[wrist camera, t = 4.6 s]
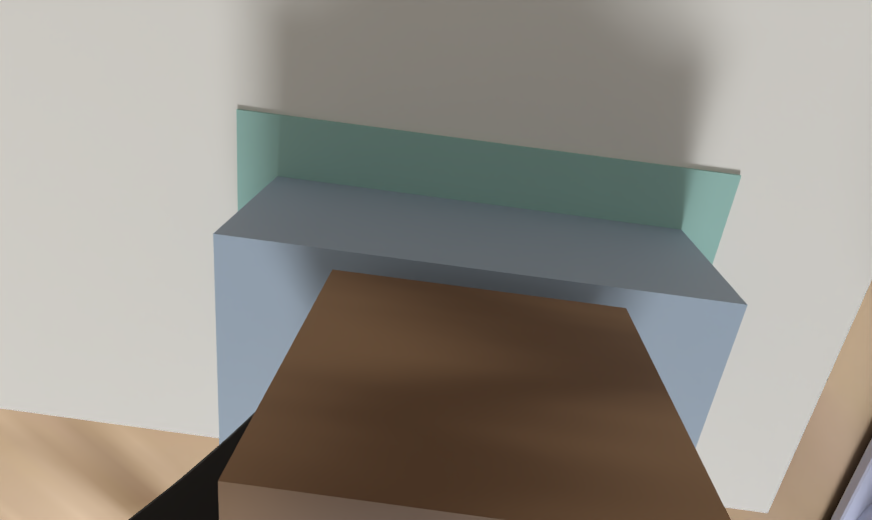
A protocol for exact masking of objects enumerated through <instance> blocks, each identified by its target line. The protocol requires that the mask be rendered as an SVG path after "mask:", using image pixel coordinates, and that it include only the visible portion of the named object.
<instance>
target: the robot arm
mask: <svg viewBox="0 0 872 520" xmlns="http://www.w3.org/2000/svg"><path fill="white" fill-rule="evenodd" d="M254 413H255V412H254ZM254 413H253V414H252V415H251V416H250V417H249V418H248V419H247V420H246V421H245V422H244V423H243V424H242V425H241V426H240V427H238V428H237V429H236V430H235V431H234V432H233V433H232V434H231V435H230V436H229V437H228V438H227V439H225V440H224V441H223V442H222V443H221V444H220V445H219V446H218V447H217V448H215V449H214V450H213V451H212V452H211V453H210V454H209V455H207V456H206V457H205V458H204V459H203V460H202V461H200V462H199V463H198V464H197V465H196V466H195V467H193V468H192V469H191V470H190V471H189V472H188V473H187V474H185V475H184V476H183V477H182V478H181V479H179V480H178V481H177V482H176V483H175V484H173V485H172V486H171V487H170V488H168V489H167V490H166V491H165V492H163V493H162V494H161V495H159V496H158V497H157V498H156V499H154V500H153V501H152V502H151V503H149V504H148V505H147V506H145V507H144V508H143V509H142V510H140V511H139V512H138V513H136V514H135V515H134V516H133V517H131V518H130V519H129V520H219V503H218V480H219V478H220V476H221V474H222V472H223V471H224V469H225V467H226V465H227V463H228V461H229V459H230V458H231V456H232V454H233V452H234V450H235V448H236V447H237V445H238V443H239V441H240V439H241V437H242V435H243V434H244V432H245V430H246V428H247V426H248V424H249V423H250V421H251V419H252V417H253V415H254ZM831 520H872V439H871V441H870V443H869V445H868V447H867V449H866V451H865V453H864V455H863V457H862V459H861V461H860V463H859V465H858V466H857V468H856V470H855V472H854V474H853V476H852V478H851V480H850V482H849V484H848V486H847V488H846V490H845V492H844V494H843V496H842V498H841V500H840V502H839V504H838V506H837V508H836V510H835V512H834V514H833V516H832V518H831Z"/></svg>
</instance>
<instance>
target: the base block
mask: <svg viewBox="0 0 872 520" xmlns="http://www.w3.org/2000/svg"><path fill="white" fill-rule="evenodd" d="M213 246H214V279H215V313H216V346H217V380H218V413H219V445H220V444H221V443H222V442H223V441H224V440H225V439H227V438H228V437H229V436H230V435H231V434H232V433H233V432H234V431H235V430H236V429H237V428H238V427H240V426H241V425H242V424H243V423H244V422H245V421H246V420H247V419H248V418H249V417H250V416H251V415H252V414H253V413H254V412H255V411H256V410H257V408H258V406H259V404H260V402H261V400H262V399H263V397H264V395H265V393H266V391H267V389H268V387H269V386H270V384H271V382H272V380H273V378H274V376H275V375H276V373H277V371H278V369H279V367H280V365H281V363H282V362H283V360H284V358H285V356H286V354H287V352H288V351H289V349H290V347H291V345H292V343H293V341H294V339H295V338H296V336H297V334H298V332H299V330H300V328H301V327H302V325H303V323H304V321H305V319H306V317H307V315H308V314H309V312H310V310H311V308H312V306H313V304H314V302H315V301H316V299H317V297H318V295H319V293H320V291H321V290H322V288H323V286H324V284H325V282H326V280H327V278H328V277H329V275H330V273H331V271H332V269H333V270H341V271H348V272H356V273H364V274H371V275H379V276H386V277H394V278H402V279H409V280H417V281H424V282H432V283H440V284H447V285H455V286H462V287H470V288H478V289H485V290H493V291H500V292H508V293H516V294H523V295H531V296H538V297H546V298H554V299H561V300H569V301H576V302H584V303H592V304H599V305H607V306H614V307H622V308H626V309H627V311H628V313H629V315H630V317H631V319H632V321H633V323H634V325H635V327H636V329H637V331H638V333H639V335H640V337H641V339H642V341H643V343H644V345H645V347H646V349H647V351H648V353H649V355H650V358H651V360H652V362H653V364H654V366H655V368H656V370H657V372H658V374H659V376H660V378H661V380H662V382H663V384H664V386H665V388H666V390H667V392H668V394H669V396H670V398H671V400H672V402H673V404H674V406H675V408H676V410H677V412H678V414H679V416H680V418H681V420H682V422H683V424H684V426H685V428H686V430H687V432H688V434H689V436H690V438H691V441H692V443H693V445H694V447H695V448H696V446H697V443H698V440H699V437H700V435H701V432H702V429H703V426H704V424H705V421H706V418H707V415H708V413H709V410H710V407H711V404H712V402H713V399H714V396H715V393H716V391H717V388H718V385H719V382H720V379H721V377H722V374H723V371H724V368H725V366H726V363H727V360H728V357H729V355H730V352H731V349H732V346H733V344H734V341H735V338H736V335H737V333H738V330H739V327H740V324H741V322H742V319H743V316H744V313H745V311H746V308H747V304H746V303H745V301H744V300H743V299H742V298H741V297H740V296H739V295H738V293H737V292H736V291H735V290H734V289H733V288H732V287H731V285H730V284H729V283H728V282H727V281H726V280H725V279H724V278H723V276H722V275H721V274H720V273H719V272H718V271H717V270H716V268H715V267H714V266H713V265H712V264H711V263H710V262H709V260H708V259H707V258H706V257H705V256H704V255H703V254H702V252H701V251H700V250H699V249H698V248H697V247H696V246H695V245H694V243H693V242H692V241H691V240H690V239H689V238H688V237H687V235H686V234H685V233H684V232H683V231H682V230H681V229H673V228H666V227H658V226H650V225H643V224H635V223H628V222H620V221H613V220H605V219H597V218H590V217H582V216H575V215H567V214H560V213H552V212H544V211H537V210H529V209H522V208H514V207H507V206H499V205H491V204H484V203H476V202H469V201H461V200H454V199H446V198H438V197H431V196H423V195H416V194H408V193H401V192H393V191H386V190H378V189H370V188H363V187H355V186H348V185H340V184H333V183H325V182H317V181H310V180H302V179H295V178H287V177H280V176H277V177H276V178H275V179H274V180H273V181H271V182H270V183H269V184H268V185H267V186H266V187H265V188H264V189H262V190H261V191H260V192H259V193H258V194H257V195H256V196H255V197H254V198H252V199H251V200H250V201H249V202H248V203H247V204H246V205H245V206H244V207H242V208H241V209H240V210H239V211H238V212H237V213H236V214H235V215H233V216H232V217H231V218H230V219H229V220H228V221H227V222H226V223H225V224H223V225H222V226H221V227H220V228H219V229H218V230H217V231H216V232H215V233H213Z"/></svg>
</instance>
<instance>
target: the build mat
mask: <svg viewBox="0 0 872 520" xmlns="http://www.w3.org/2000/svg"><path fill="white" fill-rule="evenodd" d="M277 176H280V177H287V178H295V179H302V180H310V181H317V182H325V183H333V184H340V185H348V186H355V187H363V188H370V189H378V190H386V191H393V192H401V193H408V194H416V195H423V196H431V197H438V198H446V199H454V200H461V201H469V202H476V203H484V204H491V205H499V206H507V207H514V208H522V209H529V210H537V211H544V212H552V213H560V214H567V215H575V216H582V217H590V218H597V219H605V220H613V221H620V222H628V223H635V224H643V225H650V226H658V227H666V228H673V229H681V230H682V231H683V232H684V233H685V234H686V235H687V237H688V238H689V239H690V240H691V241H692V242H693V243H694V245H695V246H696V247H697V248H698V249H699V250H700V251H701V252H702V254H703V255H704V256H705V257H706V258H707V259H708V260H709V262H710V263H711V264H712V265H713V266H714V267H715V268H716V270H717V271H718V272H719V273H720V274H721V275H722V276H723V278H724V279H725V280H726V281H727V282H728V283H729V284H730V285H731V287H732V288H733V289H734V290H735V291H736V292H737V293H738V295H739V296H740V297H741V298H742V299H743V300H744V301H745V303H746V304H747V308H746V311H745V313H744V316H743V319H742V322H741V324H740V327H739V330H738V333H737V335H736V338H735V341H734V344H733V346H732V349H731V352H730V355H729V357H728V360H727V363H726V366H725V368H724V371H723V374H722V377H721V379H720V382H719V385H718V388H717V391H716V393H715V396H714V399H713V402H712V404H711V407H710V410H709V413H708V415H707V418H706V421H705V424H704V426H703V429H702V432H701V435H700V437H699V440H698V443H697V446H696V448H695V449H696V451H697V453H698V455H699V457H700V459H701V461H702V463H703V465H704V467H705V469H706V471H707V473H708V475H709V477H710V479H711V481H712V483H713V485H714V487H715V489H716V491H717V493H718V495H719V497H720V499H721V501H722V503H723V505H724V507H726V508H734V509H741V510H748V511H756V512H763V513H768V511H769V509H770V507H771V505H772V502H773V500H774V498H775V496H776V493H777V491H778V489H779V487H780V484H781V482H782V480H783V478H784V475H785V473H786V471H787V469H788V466H789V464H790V462H791V460H792V457H793V455H794V453H795V451H796V449H797V446H798V444H799V442H800V440H801V437H802V435H803V433H804V431H805V428H806V426H807V424H808V422H809V419H810V417H811V415H812V413H813V410H814V408H815V406H816V404H817V401H818V399H819V397H820V395H821V393H822V390H823V388H824V386H825V384H826V381H827V379H828V377H829V375H830V372H831V370H832V368H833V366H834V363H835V361H836V359H837V357H838V354H839V352H840V350H841V348H842V345H843V343H844V341H845V339H846V337H847V334H848V332H849V330H850V328H851V325H852V323H853V321H854V319H855V316H856V314H857V312H858V310H859V307H860V305H861V303H862V301H863V298H864V296H865V294H866V292H867V289H868V287H869V285H870V283H871V281H872V0H0V408H1V409H8V410H16V411H23V412H30V413H38V414H45V415H52V416H60V417H67V418H74V419H82V420H89V421H96V422H104V423H111V424H118V425H126V426H133V427H140V428H148V429H155V430H162V431H170V432H177V433H184V434H191V435H199V436H206V437H213V438H219V413H218V380H217V346H216V313H215V279H214V246H213V233H215V232H216V231H217V230H218V229H219V228H220V227H221V226H222V225H223V224H225V223H226V222H227V221H228V220H229V219H230V218H231V217H232V216H233V215H235V214H236V213H237V212H238V211H239V210H240V209H241V208H242V207H244V206H245V205H246V204H247V203H248V202H249V201H250V200H251V199H252V198H254V197H255V196H256V195H257V194H258V193H259V192H260V191H261V190H262V189H264V188H265V187H266V186H267V185H268V184H269V183H270V182H271V181H273V180H274V179H275V178H276V177H277Z"/></svg>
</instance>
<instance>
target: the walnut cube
mask: <svg viewBox="0 0 872 520" xmlns="http://www.w3.org/2000/svg"><path fill="white" fill-rule="evenodd" d="M218 503H219V520H731V519H730V517H729V515H728V513H727V511H726V509H725V507H724V505H723V503H722V501H721V499H720V497H719V495H718V493H717V491H716V489H715V487H714V485H713V483H712V481H711V479H710V477H709V475H708V473H707V471H706V469H705V467H704V465H703V463H702V461H701V459H700V457H699V455H698V453H697V451H696V449H695V447H694V445H693V443H692V441H691V438H690V436H689V434H688V432H687V430H686V428H685V426H684V424H683V422H682V420H681V418H680V416H679V414H678V412H677V410H676V408H675V406H674V404H673V402H672V400H671V398H670V396H669V394H668V392H667V390H666V388H665V386H664V384H663V382H662V380H661V378H660V376H659V374H658V372H657V370H656V368H655V366H654V364H653V362H652V360H651V358H650V355H649V353H648V351H647V349H646V347H645V345H644V343H643V341H642V339H641V337H640V335H639V333H638V331H637V329H636V327H635V325H634V323H633V321H632V319H631V317H630V315H629V313H628V311H627V309H626V308H622V307H614V306H607V305H599V304H592V303H584V302H576V301H569V300H561V299H554V298H546V297H538V296H531V295H523V294H516V293H508V292H500V291H493V290H485V289H478V288H470V287H462V286H455V285H447V284H440V283H432V282H424V281H417V280H409V279H402V278H394V277H386V276H379V275H371V274H364V273H356V272H348V271H341V270H333V269H332V271H331V273H330V275H329V277H328V278H327V280H326V282H325V284H324V286H323V288H322V290H321V291H320V293H319V295H318V297H317V299H316V301H315V302H314V304H313V306H312V308H311V310H310V312H309V314H308V315H307V317H306V319H305V321H304V323H303V325H302V327H301V328H300V330H299V332H298V334H297V336H296V338H295V339H294V341H293V343H292V345H291V347H290V349H289V351H288V352H287V354H286V356H285V358H284V360H283V362H282V363H281V365H280V367H279V369H278V371H277V373H276V375H275V376H274V378H273V380H272V382H271V384H270V386H269V387H268V389H267V391H266V393H265V395H264V397H263V399H262V400H261V402H260V404H259V406H258V408H257V410H256V411H255V413H254V415H253V417H252V419H251V421H250V423H249V424H248V426H247V428H246V430H245V432H244V434H243V435H242V437H241V439H240V441H239V443H238V445H237V447H236V448H235V450H234V452H233V454H232V456H231V458H230V459H229V461H228V463H227V465H226V467H225V469H224V471H223V472H222V474H221V476H220V478H219V480H218Z"/></svg>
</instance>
